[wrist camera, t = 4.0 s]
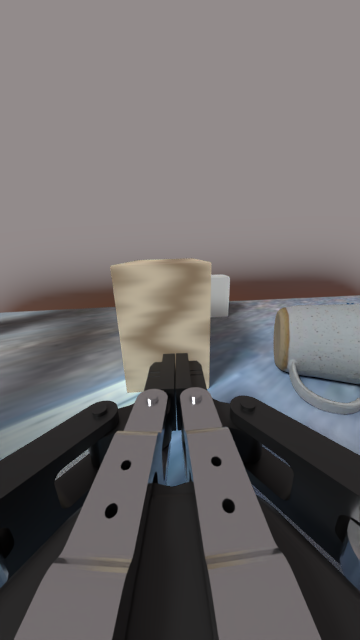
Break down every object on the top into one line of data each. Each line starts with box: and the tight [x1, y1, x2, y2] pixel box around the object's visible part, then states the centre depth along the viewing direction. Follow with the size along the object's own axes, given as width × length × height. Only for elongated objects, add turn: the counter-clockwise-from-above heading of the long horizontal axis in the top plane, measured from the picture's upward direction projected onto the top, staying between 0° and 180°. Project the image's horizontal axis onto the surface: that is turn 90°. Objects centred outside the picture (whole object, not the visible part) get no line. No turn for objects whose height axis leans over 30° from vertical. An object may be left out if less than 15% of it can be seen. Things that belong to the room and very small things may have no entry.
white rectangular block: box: [210, 275, 230, 317], centre depth 42 cm, size 22×5×8 cm, turn 93°
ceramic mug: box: [274, 304, 360, 414], centre depth 19 cm, size 11×8×8 cm
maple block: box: [110, 258, 211, 393], centre depth 24 cm, size 8×14×12 cm, turn 2°
